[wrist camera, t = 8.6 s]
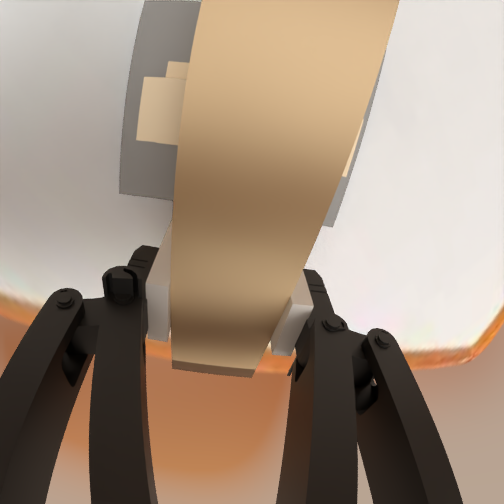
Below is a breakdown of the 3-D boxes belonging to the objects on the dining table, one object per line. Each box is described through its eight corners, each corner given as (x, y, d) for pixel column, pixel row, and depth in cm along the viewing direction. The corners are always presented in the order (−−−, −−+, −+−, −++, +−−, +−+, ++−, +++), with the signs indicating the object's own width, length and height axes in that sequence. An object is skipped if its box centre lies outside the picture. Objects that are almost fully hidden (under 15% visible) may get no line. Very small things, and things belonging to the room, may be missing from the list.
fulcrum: (149, 3, 13) (108, -26, 7) (379, 50, 15) (437, 46, 9) (123, 188, 20) (84, 234, 14) (329, 221, 23) (359, 275, 17)
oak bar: (252, -82, 5) (256, -153, 1) (350, -58, 6) (420, -103, 1) (186, 281, 18) (172, 368, 13) (250, 290, 18) (251, 377, 14)
